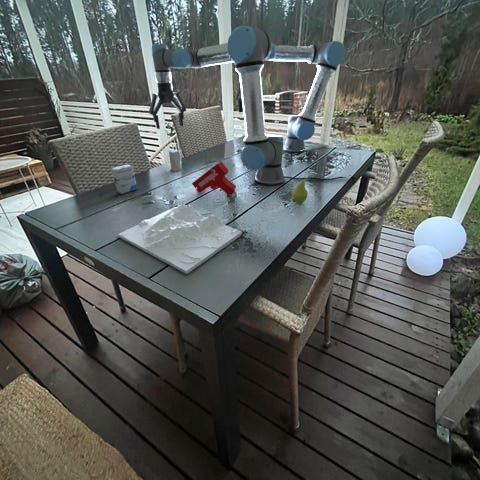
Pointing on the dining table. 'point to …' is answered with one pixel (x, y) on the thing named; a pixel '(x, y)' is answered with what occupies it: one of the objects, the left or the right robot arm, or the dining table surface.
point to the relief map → (181, 237)
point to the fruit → (300, 192)
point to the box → (174, 160)
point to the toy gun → (215, 180)
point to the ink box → (124, 178)
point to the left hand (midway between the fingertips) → (170, 127)
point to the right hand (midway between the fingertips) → (248, 113)
